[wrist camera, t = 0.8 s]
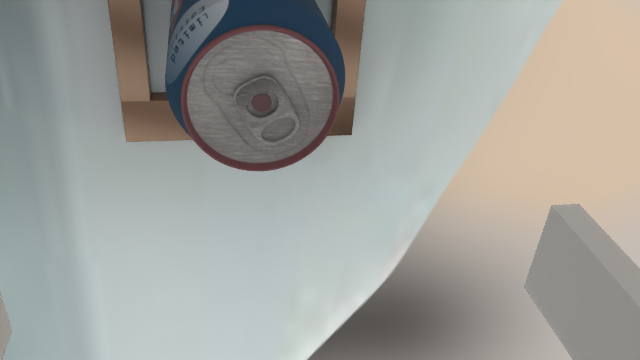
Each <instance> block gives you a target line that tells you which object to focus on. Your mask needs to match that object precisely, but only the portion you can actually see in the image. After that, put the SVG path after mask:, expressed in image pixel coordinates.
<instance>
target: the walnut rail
mask: <svg viewBox="0 0 640 360" xmlns="http://www.w3.org/2000/svg"><path fill="white" fill-rule="evenodd" d="M365 2H366V0H334V3H333V16H332V29H331V31H332V33H333V35H334V37H335V38H336V40H337V42H338V44H339V47H340V49H341V52H342V55H343V59H344V65H345V88H344V93H343V97H342V100H341V103H340V106H339V108H338V112H337V116H336V119H335V122H334V124H333V126H332V128H331V130H330V132H329V133H328V135H327V136H334V135H352V125H353V116H354V106H355V97H356V88H357V78H358V69H359V59H360V50H361V40H362V31H363V21H364V12H365ZM108 6H109V14H110V21H111V29H112V37H113V44H114V52H115V59H116V67H117V74H118V82H119V89H120V97H121V105H122V112H123V120H124V127H125V135H126V142H140V141H172V140H193V139H192V138H191V137H190V136H189V135H188V134H187V133H186V132H185V131H184V129H183V128H182V127H181V126H180V124H179V123H178V121H177V120H176V118H175V116H174V114H173V112H172V110H171V108H170V105H169V102H168V98H167V93H151V88H150V78H149V69H148V59H147V49H146V39H145V29H144V19H143V9H142V0H108Z"/></svg>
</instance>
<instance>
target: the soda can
mask: <svg viewBox="0 0 640 360" xmlns="http://www.w3.org/2000/svg"><path fill="white" fill-rule="evenodd" d="M165 85H166V93H167V98H168V102H169V105H170V108H171V110H172V112H173V114H174V116H175V118H176V120H177V121H178V123H179V124H180V126H181V127H182V128H183V129H184V131H185V132H186V133H187V134H188V135H189V136H190V137H191V138H192V139H193V140H194V141H195V142H196V144H197V145H198V146H199V147H200V148H201V149H202V150H203V151H204V152H205V153H207V154H208V155H209V156H211V157H212V158H214V159H215V160H217V161H219V162H221V163H223V164H225V165H228V166H230V167H233V168H237V169H241V170H248V171H268V170H274V169H279V168H282V167H286V166H288V165H291V164H293V163H295V162H298V161H299V160H301V159H303V158H304V157H306V156H307V155H309V154H310V153H311V152H313V151H314V150H315V149H316V148H317V147H318V146H319V145H320V144H321V143H322V142H323V140H324V139H325V138H326V136H327V135H328V133H329V132H330V130H331V128H332V126H333V124H334V122H335V119H336V116H337V112H338V108H339V106H340V103H341V100H342V97H343V93H344V88H345V65H344V59H343V55H342V52H341V49H340V47H339V44H338V42H337V40H336V38H335V37H334V35H333V33H332V31H331V29H330V28H329V26H328V24H327V22H326V20H325V19H324V17H323V15H322V13H321V11H320V10H319V8H318V6H317V4H316V2H315V1H314V0H172V8H171V19H170V30H169V41H168V52H167V63H166V74H165Z"/></svg>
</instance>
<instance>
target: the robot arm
mask: <svg viewBox="0 0 640 360" xmlns="http://www.w3.org/2000/svg"><path fill="white" fill-rule="evenodd" d="M524 288H525V289H526V291H527V292H528V294H529V295H530V296H531V298H532V300H533V301H534V303H535V304H536V305H537V307H538V308H539V310H540V311H541V313H542V314H543V316H544V317H545V319H546V320H547V322H548V323H549V325H550V326H551V328H552V329H553V330H554V332H555V334H556V335H557V337H558V338H559V340H560V341H561V343H562V344H563V346H564V347H565V349H566V350H567V352H568V353H569V354H570V356H571V357H572V359H573V360H640V268H638V266H637V265H636V264H635V263H634V262H633V261H632V260H631V259H630V258H629V257H628V256H627V254H626V253H624V251H623V250H622V249H621V248H620V247H619V246H618V245H617V244H616V243H615V242H614V241H613V240H612V239H611V237H610V236H609V235H607V233H606V232H605V231H604V230H603V229H602V228H601V227H600V226H599V225H598V224H597V223H596V222H595V220H594V219H593V218H592V217H591V216H590V215H589V214H588V213H587V212H586V211H585V210H584V209H583V208H582V207H581V206H580V205H579V204H570V205H552V206H551V209H550V212H549V214H548V217H547V220H546V223H545V226H544V229H543V232H542V235H541V238H540V241H539V244H538V247H537V250H536V253H535V256H534V259H533V262H532V265H531V268H530V270H529V274H528V276H527V280H526V283H525V285H524ZM11 332H12V328H11V325H10V322H9V318H8V315H7V312H6V309H5V305H4V302H3V299H2V296H1V292H0V360H2V359H3V356H4V353H5V350H6V347H7V344H8V341H9V338H10V335H11Z"/></svg>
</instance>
